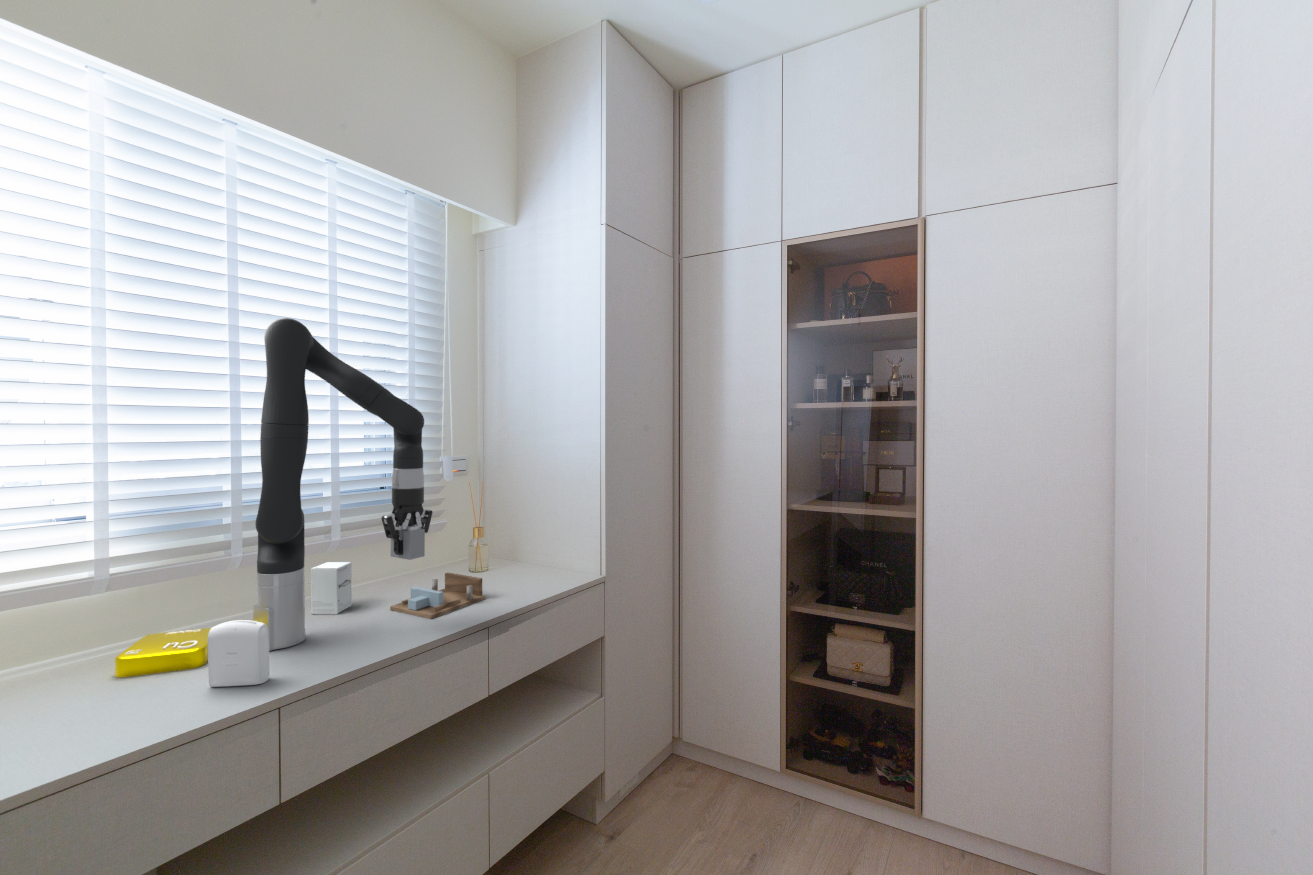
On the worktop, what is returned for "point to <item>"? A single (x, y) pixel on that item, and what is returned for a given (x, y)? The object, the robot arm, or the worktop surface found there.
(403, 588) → the worktop surface
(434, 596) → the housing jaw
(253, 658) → the photo printer
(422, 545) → the block
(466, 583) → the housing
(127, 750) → the worktop surface
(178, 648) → the element tile
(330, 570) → the supplement box
